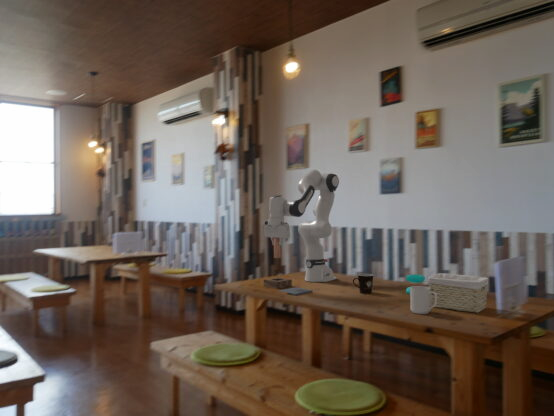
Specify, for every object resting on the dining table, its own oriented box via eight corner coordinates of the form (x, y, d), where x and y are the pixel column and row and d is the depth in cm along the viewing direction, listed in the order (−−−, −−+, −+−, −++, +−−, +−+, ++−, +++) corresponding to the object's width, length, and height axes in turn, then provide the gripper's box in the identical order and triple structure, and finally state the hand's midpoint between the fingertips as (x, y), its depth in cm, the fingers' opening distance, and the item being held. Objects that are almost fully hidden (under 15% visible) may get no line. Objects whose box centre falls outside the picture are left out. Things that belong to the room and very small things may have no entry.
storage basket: (490, 307, 211) (489, 276, 211) (480, 314, 199) (479, 281, 199) (439, 301, 227) (438, 272, 226) (427, 307, 214) (426, 276, 214)
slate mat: (295, 288, 267) (295, 287, 267) (312, 292, 256) (312, 290, 256) (277, 292, 258) (277, 290, 258) (294, 295, 247) (294, 293, 247)
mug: (407, 312, 205) (406, 288, 204) (415, 308, 211) (414, 285, 211) (433, 316, 197) (432, 291, 197) (440, 312, 204) (440, 288, 203)
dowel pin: (277, 257, 274) (277, 237, 274) (282, 257, 271) (281, 237, 271) (272, 257, 271) (272, 237, 271) (277, 258, 268) (276, 238, 268)
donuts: (421, 277, 240) (403, 275, 246) (421, 296, 240) (403, 294, 246) (427, 274, 248) (409, 273, 254) (427, 292, 249) (409, 291, 254)
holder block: (278, 285, 279) (278, 277, 279) (291, 287, 270) (291, 279, 270) (263, 287, 271) (263, 279, 271) (277, 290, 262) (276, 282, 262)
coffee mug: (372, 291, 256) (372, 273, 256) (374, 294, 247) (374, 276, 247) (352, 291, 257) (351, 273, 257) (353, 294, 248) (352, 276, 248)
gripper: (292, 222, 265) (292, 245, 265) (269, 221, 280) (270, 243, 280) (284, 222, 261) (285, 246, 261) (262, 222, 276) (262, 244, 276)
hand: (277, 245), depth 271 cm, fingers closed on dowel pin, 4 cm apart
